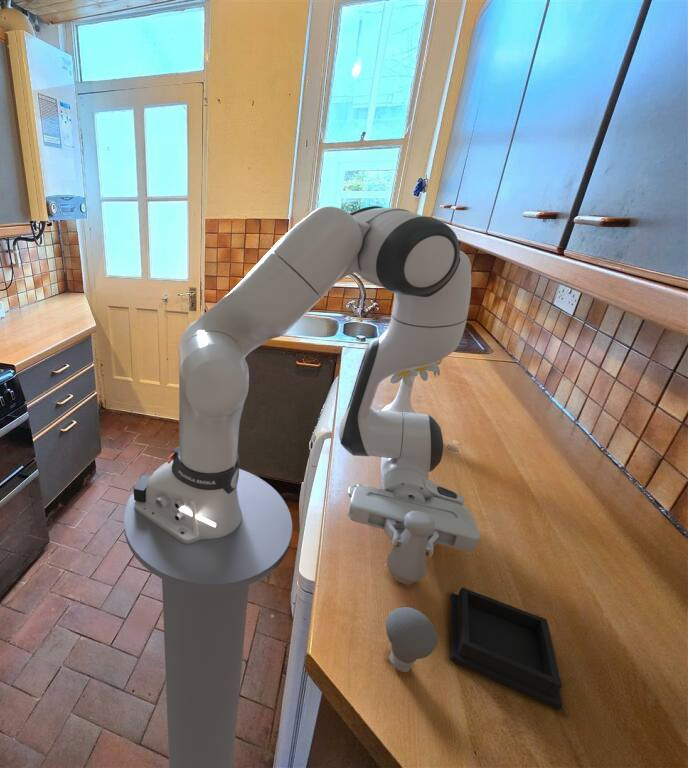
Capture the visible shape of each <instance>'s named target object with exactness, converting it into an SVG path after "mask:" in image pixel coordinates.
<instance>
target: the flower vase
mask: <svg viewBox="0 0 688 768" xmlns="http://www.w3.org/2000/svg"><path fill="white" fill-rule="evenodd" d="M442 362H443V359H442V360H440V361H438V362H436V363H434V364H431V365H428V366H424V367H420V368H415V369H410V370H406V371H403V372H400V373H397V374H394V375H391V378H390V380H389V382H390V383H391V384H393V385H395V384H397V383H399V382H400V384H399V386H398V391H397V394H396V396H395V397H394V400H392V401H391V403H388V404H387V405H385V406H383V408H382V409H381V410H382V411H394V412H410V413H417V412H416V411H415V409H414V408H413V407H412V402H411V397H412V390H413V387H414V382H415V380H416V377H418V376H420V378H421V380H422V381H424V382H427V381H428V379H429V373H428V372H432V374H433V376H434V378H436V377H437V376H438V377H441V370H440V367H439V365H440V364H441V363H442Z"/></svg>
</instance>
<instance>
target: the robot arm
mask: <svg viewBox="0 0 688 768" xmlns="http://www.w3.org/2000/svg"><path fill="white" fill-rule="evenodd" d="M460 248H461V247H460V243H459V238H458V236H457V234H456V232H455V231H454V230H453V229H452V227H450V226H449V225H448V224H446V223H445V222H443V221H441V219H438V218H435V217H432V216H424V215H421V214H418V213H415V212H413V211H410V210H408V209H404V208H398V207H397V208H396V207H383V206H380V205H379V206H378V205H375V206H374V205H372V206H367V207H366V206H365V207H362V208H359V209H355V210H353V211H352V212H348V211H347V210H344V209H343V208H340V207H337V206H332V205H325V206H322V207H318V208H317V209H315V210H313V211H312V212H311V213H310V214H307V216H306V217H304V218H303V219H301V221H299V222H298V223H296V224H295V225H294V226H293V227H292V228H291V229H290V230H289V231H288V232H286V233H285V234H284V235H283V236H282V237H281V238H280V239H279V240H278V241H277V242H275V244H274V245H273V246H272V247H271V248H270V250H268V252H266V254H265V255H264V256H263V257H262V258H261V259H260V260H259V261H258V263H256V264H255V265H254V267H253V268H252V269H251V270H250V271H249V272H248V273H247V274H246V276H244V278H242V280H241V281H240V282H239V283H238V284H237V285H235V287H234V288H233V289H232V290H230V291H229V293H227V294H226V295H224V297H222V298H221V299H220V300H219V301H218V302H216V303H214V305H212V306H211V307H210V308H209V309H208V310H207V311H205V312H204V313H203V314H202V315H201V316H200V317H198V319H196V320H195V321H193V322H191V323H190V324H189V325H188V326H187V327H186V329H184V331H183V333H182V335H181V336H180V340H179V342H178V346H177V350H178V395H179V396H178V397H179V398H178V400H179V402H178V405H179V407H178V408H179V409H178V418H179V419H178V430H179V431H178V437H179V441H178V442H179V444H178V445H179V446H177V447H176V448H175V449H173V450H172V454H170V455H169V456H168V458H167V461H166V462H165V463H163V464H161V465H160V466H159V467H157V468H156V469H155V471H154V472H153V473H152V474H151V475H147V474H142V475H141V477H140V478H139V480H138V481H137V482H136V484H135V486H133V488H132V490H133V493H134V500H135V509H136V510H137V511H138V512H139V513H141V514H142V515H144V516H145V517H147V518H148V519H149V520H151V521H152V522H154V523H155V524H157V525H158V526H159V527H161V528H162V529H164V530H165V531H167V532H168V533H169V534H171V535H172V536H174V537H175V538H177V539H178V540H180V541H181V542H182V543H185V544H189V543H193V542H196V541H198V540H202V539H215V538H220V537H223V536H226V535H228V534H230V533H232V532H233V531H234V530H235V529H236V528H237V527H238V526H239V524H240V522H241V519H242V511H241V508H240V505H239V500H238V493H237V484H238V480H239V469H240V454H239V453H238V451H239V436H240V424H241V418H242V414H243V410H244V406H245V401H246V400H247V396H248V395H249V394H248V393H249V388H250V370H249V365H248V362H247V360H246V357H247V356H248V355H249V354H250V353H251V352H253V351H254V350H256V349H258V348H259V347H261V346H262V345H264V344H265V343H267V342H269V341H271V340H273V339H277V338H280V337H283V336H284V335H285V334H287V332H289V331H290V330H291V329H292V328H294V326H295V325H296V324H297V323H298V322H299V321H300V320H301V319H302V318H303V317H304V316H305V315H306V314H307V313H308V312H309V311H310V310H311V309H312V308H313V307H314V306H315V305H316V304H317V303H318V302H319V301H321V299H323V297H325V295H327V293H328V292H329V291H331V289H332V288H333V287H334V286H335V285H336V284H337V283H338V282H339V281H341V280H343V279H344V278H345V277H348V276H350V275H351V274H354V273H355V274H356V275H358V277H360V278H361V279H363V280H364V281H366V282H368V283H370V284H372V285H374V286H377V287H380V288H382V289H385V290H387V291H388V292H391V293H392V294H393V302H392V308H391V315H390V320H389V323H388V325H387V327H386V329H385V330H384V332H383V333H382V334H381V335H380V336H379V337H376V338H374V339H372V340H371V341H370V342H369V343H368V345H367V347H366V348H365V351H364V354H363V357H362V360H361V363H360V366H359V369H358V372H357V375H356V379H355V381H354V386H353V387H352V388H353V389H352V392H351V395H350V398H349V402H348V405H347V407H346V410H345V413H344V414H343V417H342V418H341V422H340V423H339V430H338V437H339V442H340V443H339V444H340V445H341V446H342V448H344V449H345V450H346V451H347V452H348V453H349V454H350V455H352V456H353V457H354V456H355V457H356V456H357V457H377V458H380V466H379V467H380V468H379V472H380V473H379V475H380V478H381V481H380V488H377V487H372V486H368V485H364V484H361V483H360V484H359V483H358V484H356V485H349V487H348V489H347V490H348V491H347V494H348V497H349V498H350V500H349V506H348V511H347V517H348V518H349V519H350V520H351V521H352V522H355V523H359V524H361V525H366V526H370V527H373V528H377V529H381V530H383V532H384V533H385V535H386V536H387V537H388V538H389V539H390V540H391V546H392V547H397V548H399V547H400V545H401V544H402V540H401V535H402V533H403V532H404V530H405V529H406V527H405V525H404V519H405V516H406V514H407V513H408V512H410V511H421V512H423V513H426V514H427V515H429V516H430V517H431V518H432V519H433V521H434V522H435V531H434V533H433V534H432V535H430V536H429V537H428V542H427V549H426V557H430V558H432V556H433V554H434V548H435V547H436V546H437V544H438V545H441V546H444V547H449V548H452V549H456V550H460V551H463V552H467V553H472V552H473V551H475V550H476V549H477V547H478V545H479V542H480V539H481V532H480V528H479V526H478V524H477V522H476V519H475V518H474V516H473V513H471V511H470V510H469V509H468V508H467V507H466V506H464V503H465V499H464V496H463V495H462V494H460V493H458V492H456V491H453V490H451V489H448V488H445V487H443V486H441V485H439V484H437V483H435V482H433V481H431V480H430V479H429V476H430V475H429V473H431V472H433V471H434V470H435V469H436V468H437V467H438V466H439V464H440V463H441V461H442V458H443V453H444V438H443V433H442V429H441V426H440V424H439V423H438V422H437V420H436V419H435V418H434V417H433V416H431V415H430V414H428V413H422V412H421V413H420V412H419V413H418V412H416V413H410V412H394V411H382V409H381V410H380V409H374V408H372V405H373V402H374V399H375V396H376V394H377V390H378V388H379V386H380V384H381V383H382V382H383V381H384V380H385V379H387V378H389V377H392V376H393V375H394V374H397V373H400V372H403V371H406V370H410V369H415V368H420V367H424V366H428V365H431V364H434V363H436V362H438V361H440V360H442V361H443V360H444V359H445V358H447V357H448V356H450V355H451V354H452V353H453V352H455V350H457V348H458V347H459V345H460V343H461V341H462V338H463V336H464V333H465V329H466V325H467V320H468V316H469V310H470V304H471V302H470V301H471V293H472V265H471V261H470V258H469V257H468V255H467V254H466V253H465V252H464V251H461V249H460Z"/></svg>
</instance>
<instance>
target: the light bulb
mask: <svg viewBox="0 0 688 768" xmlns="http://www.w3.org/2000/svg"><path fill="white" fill-rule="evenodd" d="M385 632H386V636H387V638H388V640H389V642H390V649H391V652H390V655H389V661H390V664H391V665H392V667H394V668H395V669H396V670H398V671H400V672H403V673H407V672H409V671H410V670H411V668H412V665H413V663H415V662H416V661H417V660H421V659H425V658H428V657H429V656H431V655H432V654H433V653H434V651H435V649H436V648H437V644H438V636H437V631H436V628H435V627H434V625H433V623H432V622H431V621H430V619H429V618H428V617H427V615H425V614H424V613H423V612H421V611H420V610H418V609H415V608H413V607H410V606H409V607H408V606H400V607H397V608H394V609H393V610H391V611H390V613H389V614H388V615H387V617H386V619H385Z"/></svg>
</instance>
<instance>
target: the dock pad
mask: <svg viewBox="0 0 688 768" xmlns="http://www.w3.org/2000/svg"><path fill="white" fill-rule="evenodd" d="M549 627H550V626H549V623H548V619H547V618H545V617H542V616H540V615H538V614H537V615H536V614H534V613H531V612H529V611H526V610H523V609H522V608H519V607H515V606H513V605H510V604H507V603H505V602H502V601H499V600H498V599H494V598H492V597H489V596H487V595H484V594H481V593H480V592H476V591H474V590H471V589H467V588H466V587H463V586H461V587H460V590H459V592H458V593H455V592H451V594H450V657H449V658H450V661H451V662H453V663H455V664H457V665H459V666H462V667H464V668H466V669H467V670H470V671H473V672H474V673H477V674H480V675H481V676H484V677H486V678H488V679H490V680H492V681H494V682H497V683H499V684H501V685H502V686H506V687H508V688H510V689H512V690H514V691H516V692H519V693H521V694H522V695H525V696H527V697H529V698H531V699H533V700H536V701H538V702H541V703H542V704H545V705H546V706H549V707H551V708H554V709H555V710H557V711H561V709H562V708H563V701H562V697H561V692H560V691H561V689H562V687H563V685H562V679H561V676H560V672H559V668H558V662H557V658H556V654H555V650H554V645H553V644H554V643H553V640H552V635H551V631H550V628H549Z"/></svg>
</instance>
